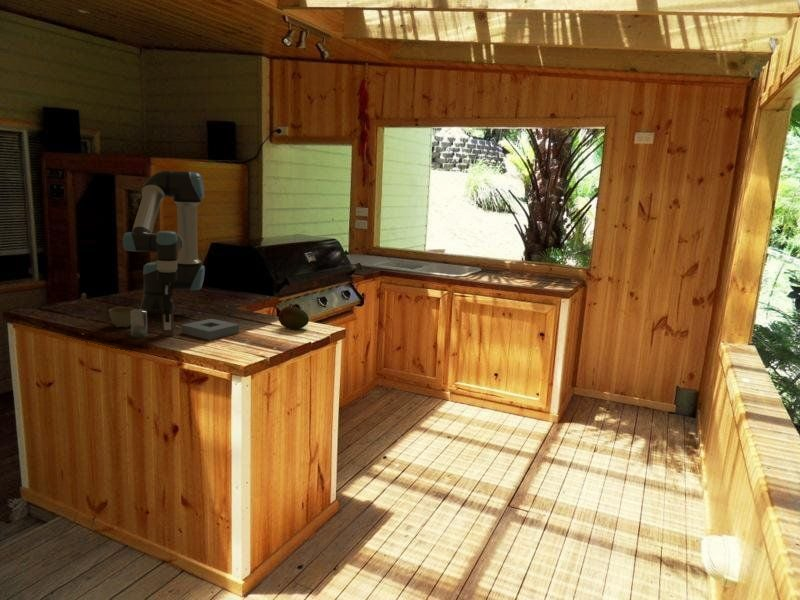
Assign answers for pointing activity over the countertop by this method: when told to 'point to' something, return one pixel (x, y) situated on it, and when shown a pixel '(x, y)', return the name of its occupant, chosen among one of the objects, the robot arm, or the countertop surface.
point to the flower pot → (121, 316)
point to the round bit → (138, 323)
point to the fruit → (293, 318)
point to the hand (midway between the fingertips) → (167, 328)
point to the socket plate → (210, 329)
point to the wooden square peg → (171, 332)
